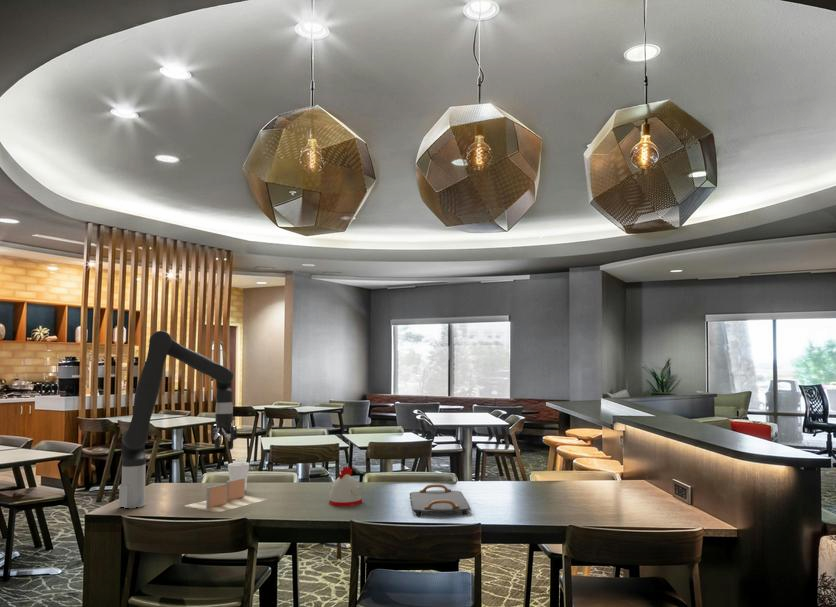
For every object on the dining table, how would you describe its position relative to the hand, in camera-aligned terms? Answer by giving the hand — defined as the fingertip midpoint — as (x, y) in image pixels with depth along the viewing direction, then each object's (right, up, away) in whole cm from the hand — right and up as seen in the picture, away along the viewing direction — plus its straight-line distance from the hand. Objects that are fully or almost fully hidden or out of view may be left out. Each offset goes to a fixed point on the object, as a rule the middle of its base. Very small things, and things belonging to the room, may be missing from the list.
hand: (223, 448), depth 288 cm
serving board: (+96, -19, -25) cm, 101 cm away
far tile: (+8, -19, -10) cm, 23 cm away
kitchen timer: (+57, -20, -16) cm, 62 cm away
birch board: (+6, -20, -17) cm, 27 cm away
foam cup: (+4, -22, +8) cm, 24 cm away
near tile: (+4, -18, -23) cm, 30 cm away
